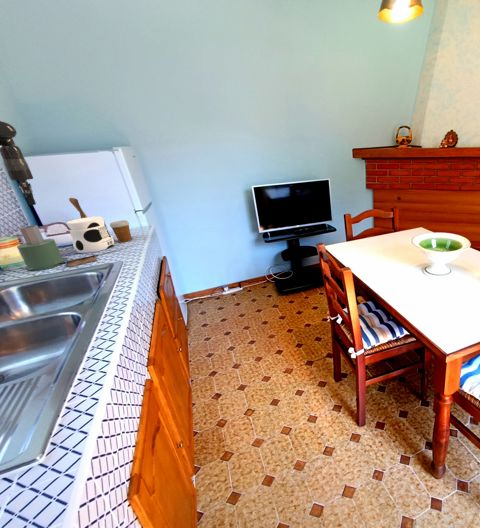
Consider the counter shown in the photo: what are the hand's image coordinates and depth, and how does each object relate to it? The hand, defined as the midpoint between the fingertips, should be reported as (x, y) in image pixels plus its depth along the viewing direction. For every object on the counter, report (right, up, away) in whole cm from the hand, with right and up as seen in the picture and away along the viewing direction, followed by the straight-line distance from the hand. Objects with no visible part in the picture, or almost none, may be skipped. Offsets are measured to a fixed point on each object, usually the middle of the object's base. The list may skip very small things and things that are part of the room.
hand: (32, 204), depth 145 cm
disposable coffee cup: (+15, -15, +39) cm, 45 cm away
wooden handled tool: (-4, -16, +39) cm, 43 cm away
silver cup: (+2, -19, -1) cm, 19 cm away
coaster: (+18, -28, +7) cm, 34 cm away
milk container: (+12, -22, +23) cm, 34 cm away
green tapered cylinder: (+3, -30, +4) cm, 30 cm away
